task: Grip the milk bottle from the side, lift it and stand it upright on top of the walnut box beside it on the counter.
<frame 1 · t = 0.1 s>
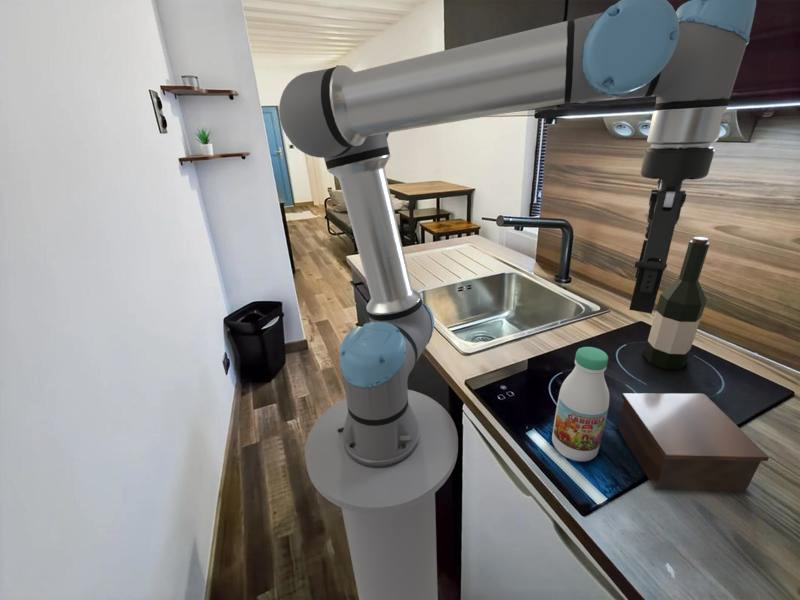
hand: (642, 293, 57), 29 cm above the worktop, tool pointing down, fingers open, 13 cm apart
walnut box: (674, 456, 63), on the worktop
milk bottle: (573, 446, 66), on the worktop
wine bottle: (664, 360, 88), on the worktop
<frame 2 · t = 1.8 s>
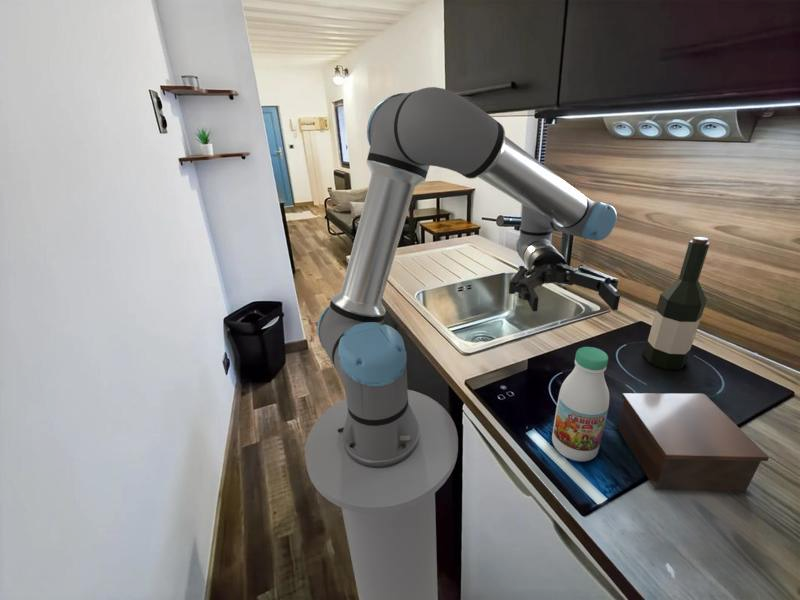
hand: (575, 304, 64), 24 cm above the worktop, tool horizontal, fingers open, 13 cm apart
nothing on the worktop moved.
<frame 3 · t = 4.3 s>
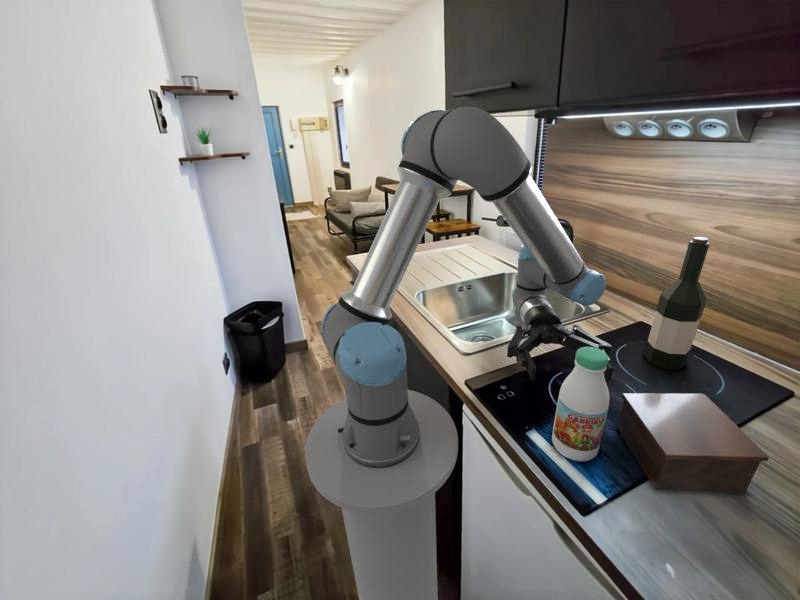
hand: (571, 374, 67), 11 cm above the worktop, tool horizontal, fingers open, 13 cm apart
nothing on the worktop moved.
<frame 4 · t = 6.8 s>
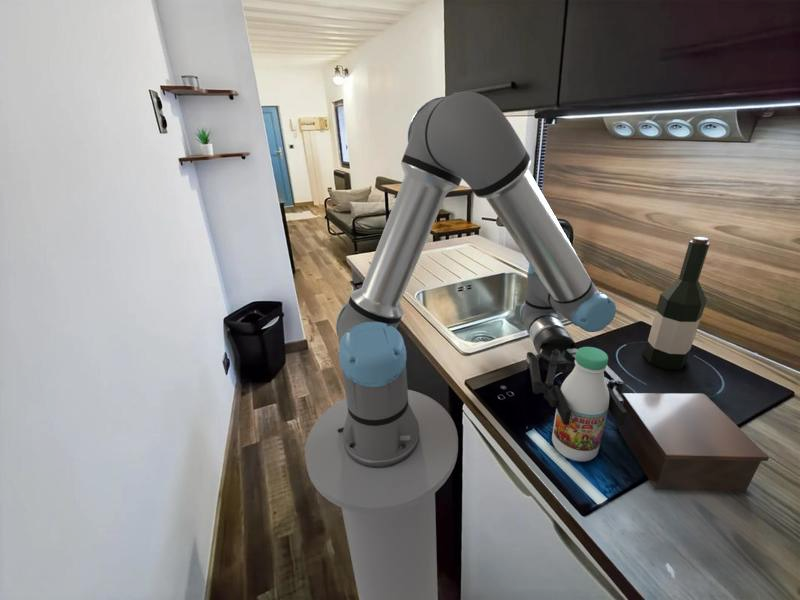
hand: (595, 418, 57), 11 cm above the worktop, tool horizontal, fingers closed on milk bottle, 8 cm apart
milk bottle: (574, 446, 66), on the worktop, touching gripper
everything else where it was.
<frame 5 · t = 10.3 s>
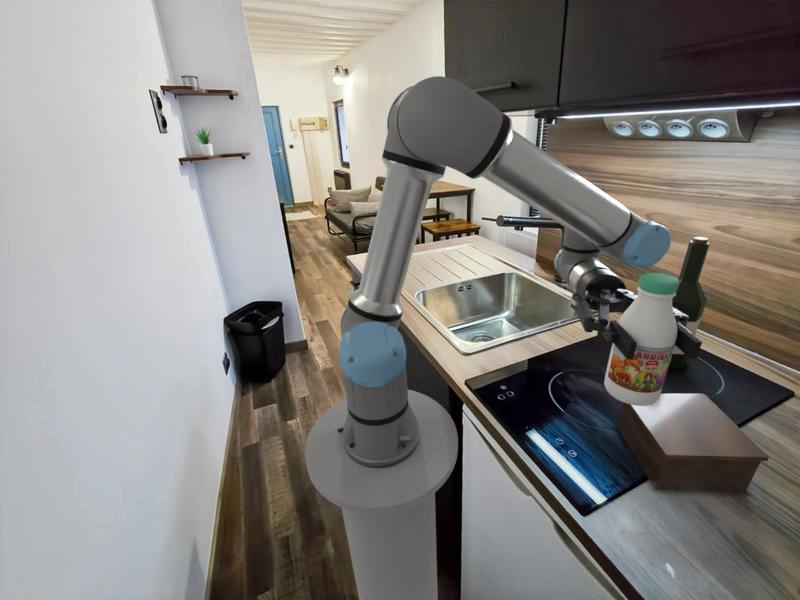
hand: (663, 351, 50), 24 cm above the worktop, tool horizontal, fingers closed on milk bottle, 8 cm apart
milk bottle: (629, 392, 59), point 13 cm above the worktop, touching gripper
everything else where it was.
when the fingers open (19 cm above the worktop, at t = 13.7 s): milk bottle stays where it is, resting on walnut box.
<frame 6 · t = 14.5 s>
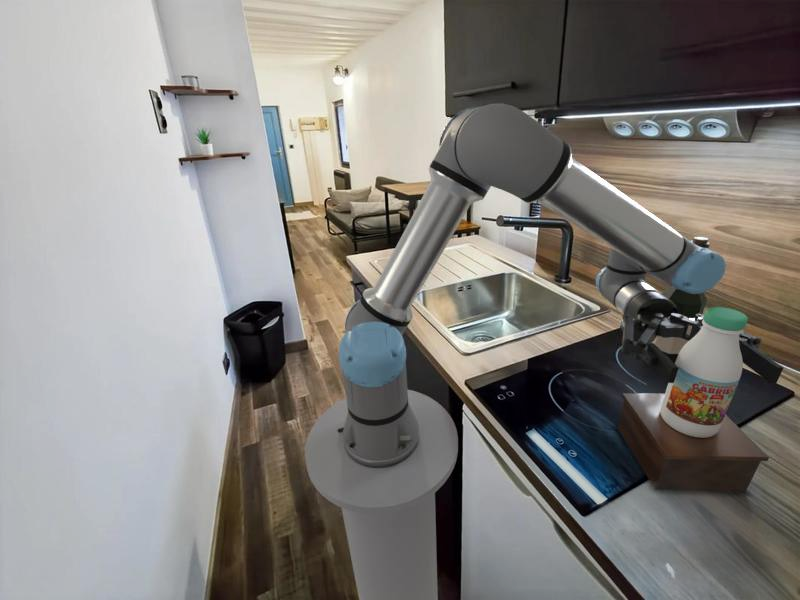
hand: (724, 375, 51), 20 cm above the worktop, tool horizontal, fingers open, 13 cm apart
milk bottle: (687, 422, 59), point 8 cm above the worktop, touching walnut box
everything else where it was.
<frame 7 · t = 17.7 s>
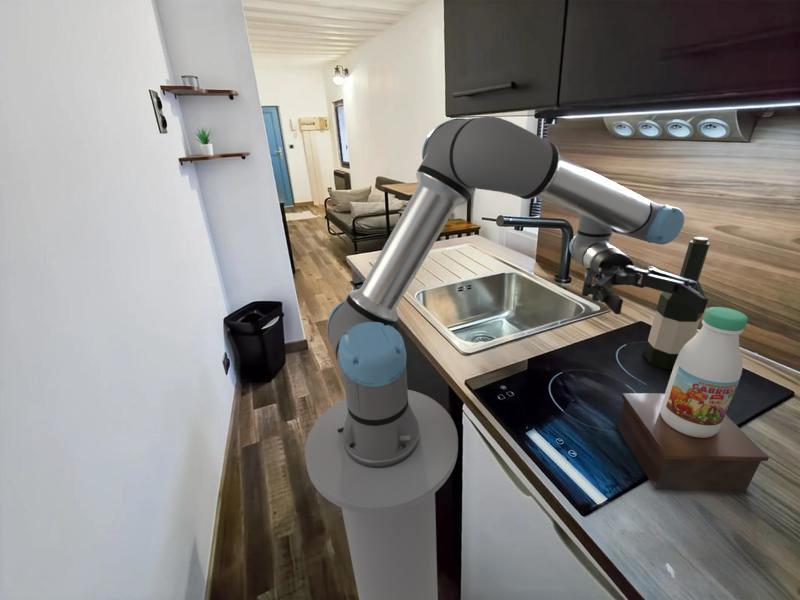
hand: (661, 306, 62), 24 cm above the worktop, tool horizontal, fingers open, 13 cm apart
nothing on the worktop moved.
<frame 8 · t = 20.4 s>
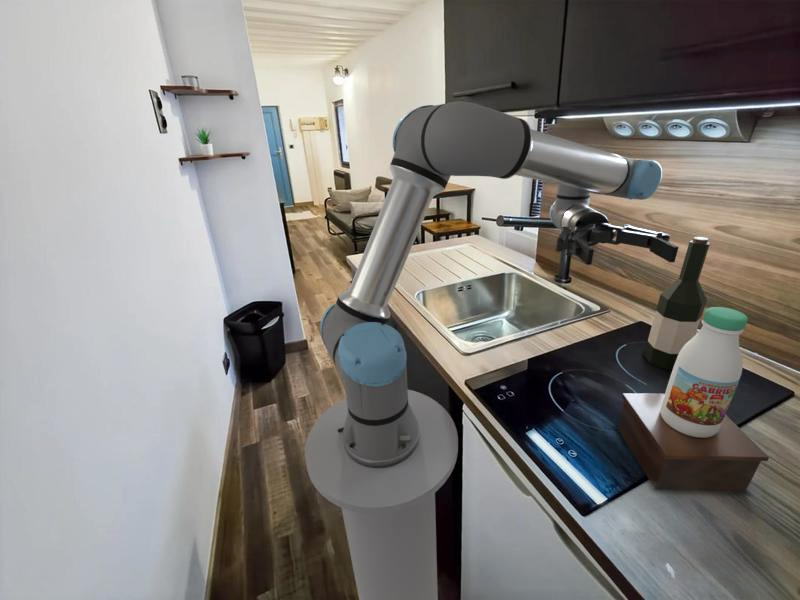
hand: (631, 256, 62), 32 cm above the worktop, tool horizontal, fingers open, 13 cm apart
nothing on the worktop moved.
at the end: milk bottle 0.0 cm off-centre on the walnut box, point 7.8 cm above the walnut box's base; milk bottle tilted 0°; the gripper is holding nothing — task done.
